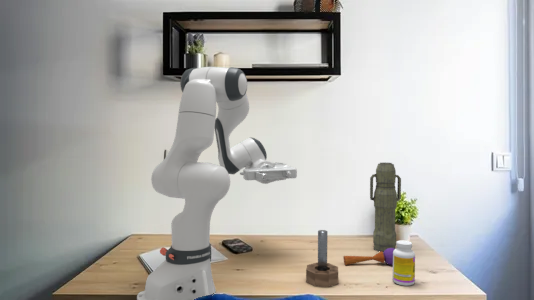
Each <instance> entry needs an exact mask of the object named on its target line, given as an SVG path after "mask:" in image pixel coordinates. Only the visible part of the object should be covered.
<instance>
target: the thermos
mask: <svg viewBox="0 0 534 300" xmlns="http://www.w3.org/2000/svg"><path fill="white" fill-rule="evenodd" d="M374 178H375V189H374ZM396 178H397V190H396ZM401 194H402V178H401V177H400V176H399V174H397V173H396V167H395V164H394V163H393V162H379V163H378V164H377V166H376V169H375V173H374V174H372V175H371V176H370V177H369V199H370V201H373V206H374V230H373V236H372V237H373V238H372V239H373V240H372V241H373V242H372V243H373V250H374V251H376V252H379V251H380V252H381V251H382V252H384V251H385V250H386V249H388V248H394V249H396V248H397V245H396V242H397V232H396V209H397V206H398V204H397V203H398V201H400V200H401V197H402V195H401Z"/></svg>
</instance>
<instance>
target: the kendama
mask: <svg viewBox="0 0 534 300" xmlns="http://www.w3.org/2000/svg"><path fill="white" fill-rule="evenodd" d="M394 250H395V249H394V248H388V249H386V250H385V251H384V252H382V251H381V252H379V251H378V253H376V254H375V255H372V256H368V255H367V256H365V255H363V256H362V255H361V256H360V255H343V263H344V266H348V265H353V264H358V263H364V262H368V261H376V262H378V263H381V264H384V263H386V264H387V265H389V266H393V251H394Z"/></svg>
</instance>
